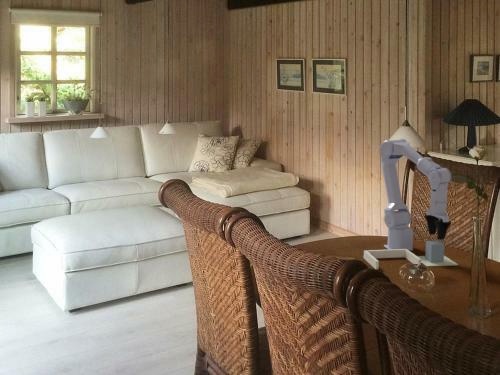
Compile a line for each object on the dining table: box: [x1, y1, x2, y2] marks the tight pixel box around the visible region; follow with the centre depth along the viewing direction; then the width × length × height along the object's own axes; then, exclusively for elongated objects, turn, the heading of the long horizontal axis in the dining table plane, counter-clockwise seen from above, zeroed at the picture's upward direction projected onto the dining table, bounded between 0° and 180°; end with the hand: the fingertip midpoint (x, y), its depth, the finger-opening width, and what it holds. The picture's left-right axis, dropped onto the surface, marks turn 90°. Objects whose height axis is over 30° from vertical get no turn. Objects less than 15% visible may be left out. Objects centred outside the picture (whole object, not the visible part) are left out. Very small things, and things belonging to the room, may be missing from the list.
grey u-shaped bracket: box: [363, 249, 422, 270], centre depth 226 cm, size 17×14×3 cm
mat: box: [416, 255, 459, 268], centre depth 228 cm, size 12×12×1 cm
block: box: [424, 239, 445, 263], centre depth 227 cm, size 5×5×7 cm
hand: (436, 236), depth 226 cm, fingers open, 7 cm apart
